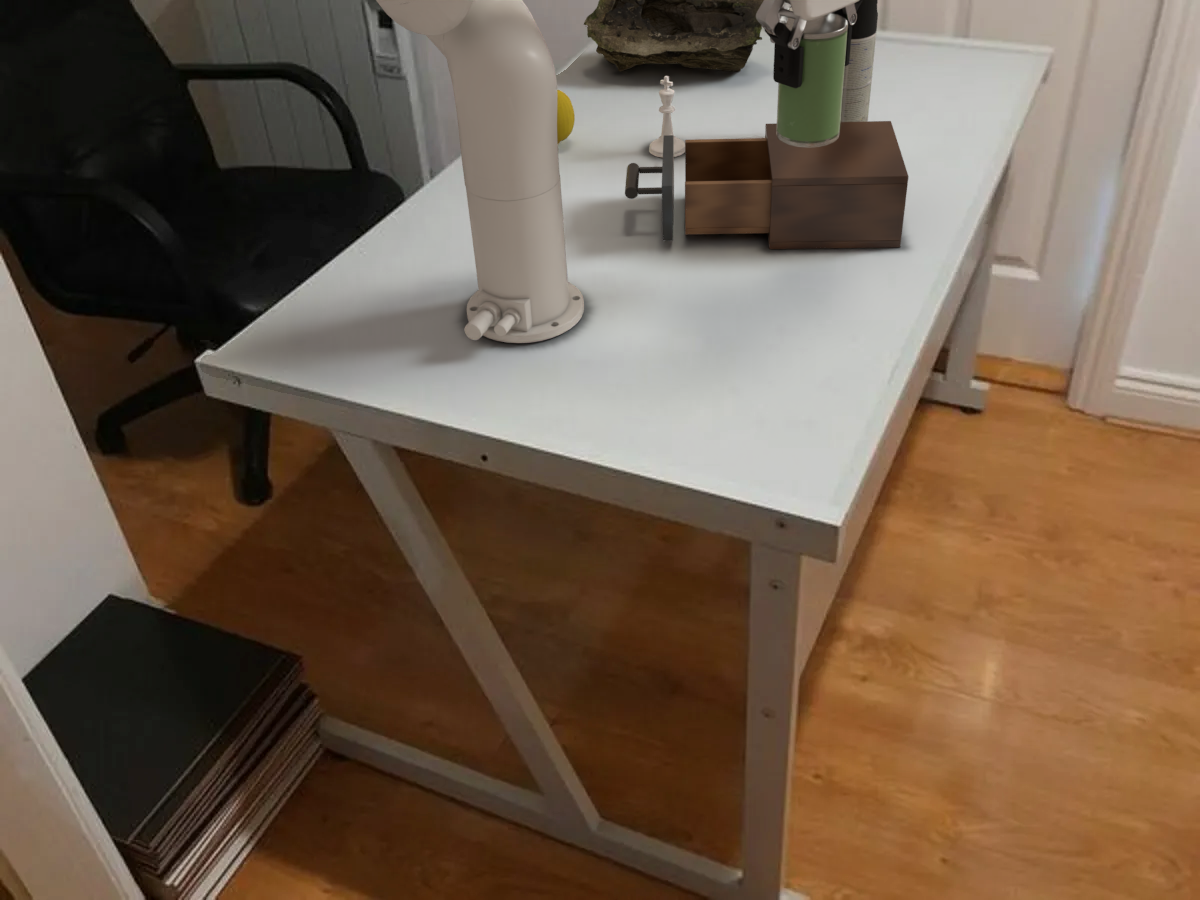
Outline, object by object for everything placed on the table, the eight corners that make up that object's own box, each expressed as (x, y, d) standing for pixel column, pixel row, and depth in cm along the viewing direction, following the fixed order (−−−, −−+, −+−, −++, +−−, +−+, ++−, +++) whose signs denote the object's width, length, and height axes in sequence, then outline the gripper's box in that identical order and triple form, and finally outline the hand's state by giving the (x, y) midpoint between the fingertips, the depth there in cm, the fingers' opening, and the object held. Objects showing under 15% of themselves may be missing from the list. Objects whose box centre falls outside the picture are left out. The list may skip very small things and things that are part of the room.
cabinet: (769, 249, 140) (772, 178, 134) (762, 190, 151) (765, 123, 146) (900, 247, 139) (908, 176, 133) (883, 188, 150) (891, 120, 145)
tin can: (830, 151, 122) (838, 36, 115) (768, 143, 124) (773, 30, 117) (846, 125, 126) (855, 14, 119) (786, 118, 128) (791, 8, 121)
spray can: (864, 131, 163) (878, -22, 151) (867, 153, 158) (882, -3, 146) (813, 131, 164) (823, -21, 152) (815, 153, 159) (826, -2, 146)
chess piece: (672, 160, 159) (671, 86, 153) (641, 152, 162) (639, 79, 155) (693, 147, 162) (693, 73, 156) (662, 139, 165) (661, 66, 158)
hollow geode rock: (771, 102, 184) (790, 7, 185) (763, 68, 172) (783, -34, 173) (595, 83, 191) (614, -8, 192) (574, 49, 179) (595, -49, 180)
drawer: (624, 241, 141) (622, 186, 137) (629, 188, 151) (627, 135, 147) (781, 239, 139) (784, 183, 135) (774, 185, 150) (777, 132, 146)
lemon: (527, 149, 164) (522, 92, 159) (548, 133, 168) (543, 77, 163) (563, 156, 162) (559, 98, 157) (583, 140, 166) (580, 83, 161)
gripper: (791, -92, 103) (782, 110, 114) (915, -134, 112) (896, 58, 123) (726, -106, 108) (723, 90, 119) (850, -145, 117) (837, 41, 128)
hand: (811, 72), depth 121 cm, fingers closed on tin can, 6 cm apart
